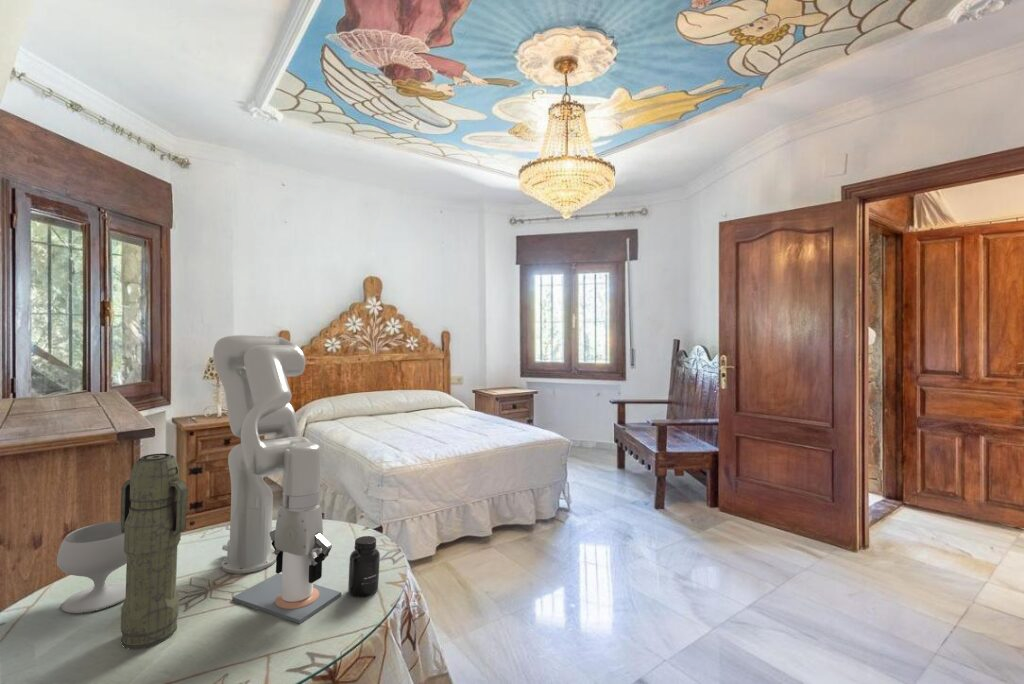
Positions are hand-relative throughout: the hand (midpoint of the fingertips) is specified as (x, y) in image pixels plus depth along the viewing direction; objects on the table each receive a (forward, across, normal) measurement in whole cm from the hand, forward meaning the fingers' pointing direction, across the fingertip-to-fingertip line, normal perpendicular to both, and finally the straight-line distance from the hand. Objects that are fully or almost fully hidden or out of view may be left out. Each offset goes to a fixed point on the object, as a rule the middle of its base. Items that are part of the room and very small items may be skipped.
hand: (298, 575), depth 105 cm
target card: (+6, -3, 0) cm, 7 cm away
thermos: (+6, -16, -21) cm, 27 cm away
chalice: (+6, -39, -18) cm, 43 cm away
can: (+5, -1, 0) cm, 5 cm away
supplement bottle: (+6, +10, +10) cm, 15 cm away
